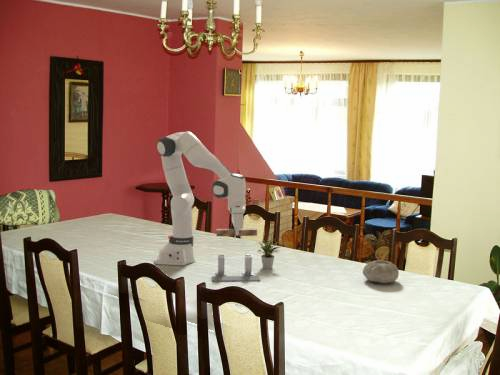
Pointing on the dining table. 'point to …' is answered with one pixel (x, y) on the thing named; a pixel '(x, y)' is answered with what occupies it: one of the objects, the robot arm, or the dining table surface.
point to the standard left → (221, 266)
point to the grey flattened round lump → (381, 271)
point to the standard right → (248, 265)
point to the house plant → (268, 254)
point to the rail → (232, 232)
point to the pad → (234, 278)
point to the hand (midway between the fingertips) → (236, 233)
